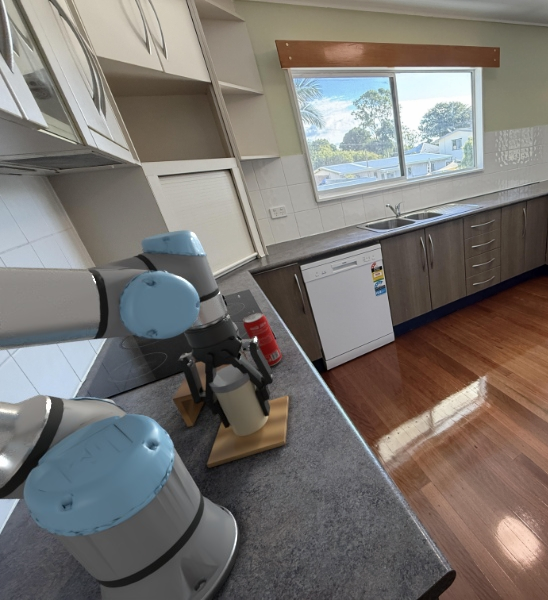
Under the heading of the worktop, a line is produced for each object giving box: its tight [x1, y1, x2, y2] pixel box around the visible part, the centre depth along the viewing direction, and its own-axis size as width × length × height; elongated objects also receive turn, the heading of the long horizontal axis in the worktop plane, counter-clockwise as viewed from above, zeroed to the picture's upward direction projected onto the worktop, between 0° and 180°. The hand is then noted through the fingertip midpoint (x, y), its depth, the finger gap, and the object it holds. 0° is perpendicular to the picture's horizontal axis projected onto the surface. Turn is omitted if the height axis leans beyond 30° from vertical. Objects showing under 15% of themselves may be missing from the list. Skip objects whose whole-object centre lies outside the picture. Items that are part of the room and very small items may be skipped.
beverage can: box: [242, 311, 283, 367], centre depth 86 cm, size 6×6×15 cm
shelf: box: [172, 350, 248, 428], centre depth 75 cm, size 14×12×8 cm
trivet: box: [206, 395, 290, 469], centre depth 66 cm, size 14×14×1 cm
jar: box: [209, 365, 268, 436], centre depth 63 cm, size 7×7×12 cm
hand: (248, 417), depth 65 cm, fingers closed on jar, 7 cm apart
